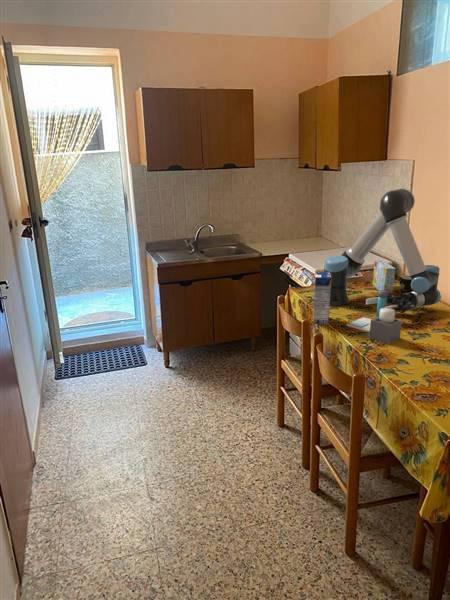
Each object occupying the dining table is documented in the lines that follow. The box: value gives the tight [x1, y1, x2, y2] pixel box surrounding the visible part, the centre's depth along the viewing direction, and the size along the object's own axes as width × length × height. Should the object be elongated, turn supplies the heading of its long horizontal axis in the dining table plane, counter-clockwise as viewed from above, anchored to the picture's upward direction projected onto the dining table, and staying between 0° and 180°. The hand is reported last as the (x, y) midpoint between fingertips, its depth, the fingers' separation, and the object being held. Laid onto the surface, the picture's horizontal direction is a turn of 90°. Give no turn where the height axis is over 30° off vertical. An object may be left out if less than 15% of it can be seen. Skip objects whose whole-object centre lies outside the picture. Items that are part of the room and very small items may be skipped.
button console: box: [368, 316, 403, 345], centre depth 187 cm, size 9×9×8 cm
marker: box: [375, 290, 388, 318], centre depth 208 cm, size 4×4×13 cm
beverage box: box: [312, 271, 331, 326], centre depth 205 cm, size 7×11×22 cm, turn 169°
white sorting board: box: [346, 316, 373, 334], centre depth 202 cm, size 14×14×1 cm
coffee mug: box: [398, 274, 414, 296], centre depth 245 cm, size 12×9×10 cm
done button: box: [379, 308, 396, 324], centre depth 185 cm, size 6×6×5 cm
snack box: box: [371, 259, 396, 295], centre depth 254 cm, size 21×6×15 cm, turn 179°
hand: (375, 305), depth 207 cm, fingers open, 12 cm apart
